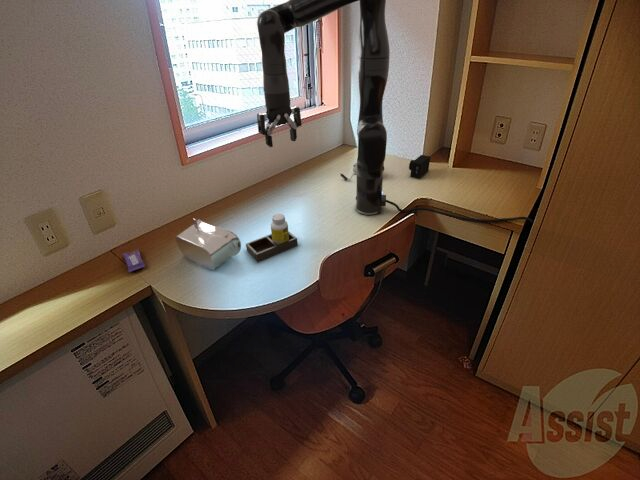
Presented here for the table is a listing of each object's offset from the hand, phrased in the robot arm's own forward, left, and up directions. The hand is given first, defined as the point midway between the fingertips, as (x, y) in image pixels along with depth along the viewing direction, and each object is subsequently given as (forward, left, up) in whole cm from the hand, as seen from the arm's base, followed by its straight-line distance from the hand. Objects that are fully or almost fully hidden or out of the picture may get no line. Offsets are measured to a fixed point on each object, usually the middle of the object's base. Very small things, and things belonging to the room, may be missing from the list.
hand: (282, 143), depth 115 cm
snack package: (+42, +31, -28) cm, 60 cm away
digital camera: (-48, -45, -28) cm, 72 cm away
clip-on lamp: (-23, -40, -28) cm, 54 cm away
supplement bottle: (-1, +16, -28) cm, 32 cm away
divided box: (+1, +19, -28) cm, 34 cm away
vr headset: (+19, +25, -28) cm, 42 cm away
